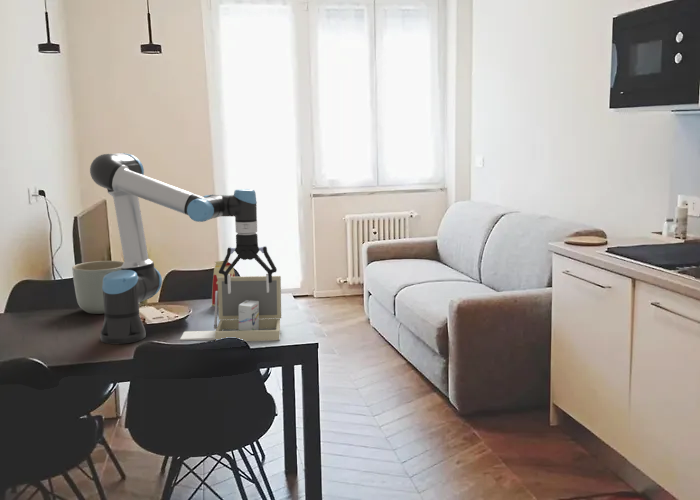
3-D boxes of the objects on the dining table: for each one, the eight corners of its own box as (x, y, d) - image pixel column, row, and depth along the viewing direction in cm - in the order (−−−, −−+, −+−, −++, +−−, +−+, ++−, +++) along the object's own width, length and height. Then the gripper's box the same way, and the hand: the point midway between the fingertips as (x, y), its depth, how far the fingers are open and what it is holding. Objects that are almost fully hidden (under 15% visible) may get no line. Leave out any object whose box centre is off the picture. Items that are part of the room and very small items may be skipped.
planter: (98, 320, 260) (95, 272, 257) (64, 312, 271) (61, 266, 268) (140, 308, 278) (137, 263, 275) (107, 302, 289) (104, 259, 285)
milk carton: (240, 304, 286) (239, 258, 283) (225, 308, 278) (224, 261, 275) (224, 301, 291) (223, 256, 287) (209, 305, 283) (207, 259, 280)
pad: (180, 340, 234) (180, 338, 234) (184, 333, 243) (184, 331, 243) (217, 339, 235) (217, 337, 235) (220, 332, 244) (220, 330, 244)
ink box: (246, 330, 246) (245, 299, 244) (259, 331, 245) (259, 300, 243) (237, 337, 238) (237, 305, 236) (251, 338, 237) (250, 305, 235)
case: (211, 341, 232) (209, 286, 229) (217, 328, 249) (215, 276, 246) (280, 340, 234) (279, 285, 231) (281, 326, 251) (280, 275, 248)
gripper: (209, 235, 231) (212, 295, 234) (282, 234, 233) (283, 293, 236) (211, 232, 238) (214, 291, 241) (282, 231, 240) (284, 289, 243)
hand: (248, 292), depth 239 cm, fingers open, 13 cm apart
